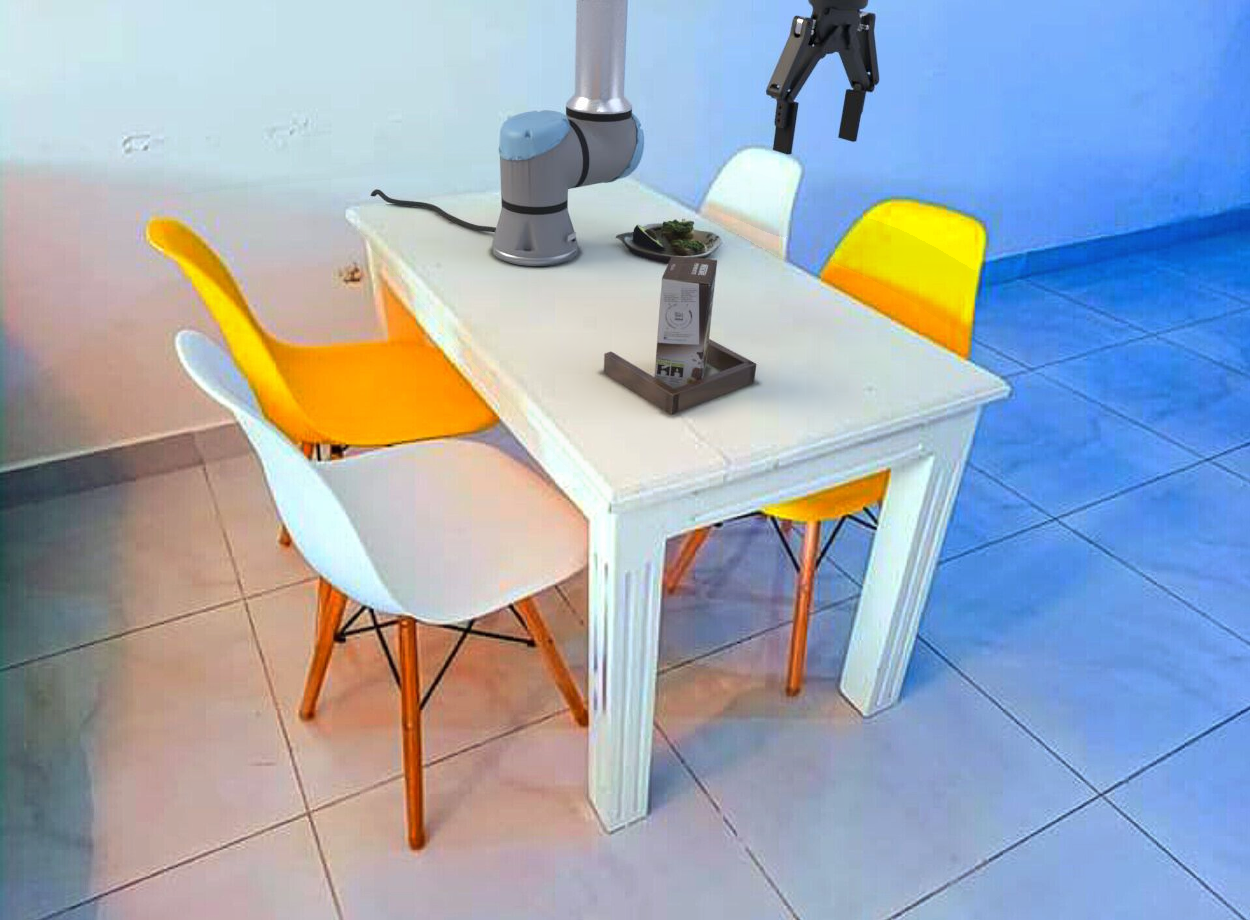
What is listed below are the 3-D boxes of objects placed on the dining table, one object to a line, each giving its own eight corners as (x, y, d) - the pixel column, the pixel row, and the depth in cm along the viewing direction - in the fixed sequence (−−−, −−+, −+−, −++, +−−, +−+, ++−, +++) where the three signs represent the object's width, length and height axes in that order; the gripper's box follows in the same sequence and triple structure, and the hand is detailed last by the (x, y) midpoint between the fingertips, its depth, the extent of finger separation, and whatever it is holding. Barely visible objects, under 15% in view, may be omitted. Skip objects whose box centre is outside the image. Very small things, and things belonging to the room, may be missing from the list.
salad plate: (654, 222, 182) (655, 199, 179) (737, 240, 175) (739, 216, 173) (606, 250, 167) (607, 225, 165) (694, 271, 161) (697, 246, 158)
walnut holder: (603, 372, 127) (604, 353, 125) (685, 345, 136) (686, 326, 134) (671, 415, 118) (672, 394, 116) (754, 382, 127) (756, 363, 125)
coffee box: (699, 397, 122) (710, 284, 114) (652, 391, 123) (659, 278, 114) (707, 367, 130) (719, 258, 121) (663, 361, 131) (671, 253, 122)
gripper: (798, -22, 105) (773, 164, 117) (926, -28, 119) (893, 140, 131) (751, -29, 110) (732, 151, 122) (880, -34, 124) (851, 129, 135)
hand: (815, 145), depth 126 cm, fingers open, 13 cm apart
